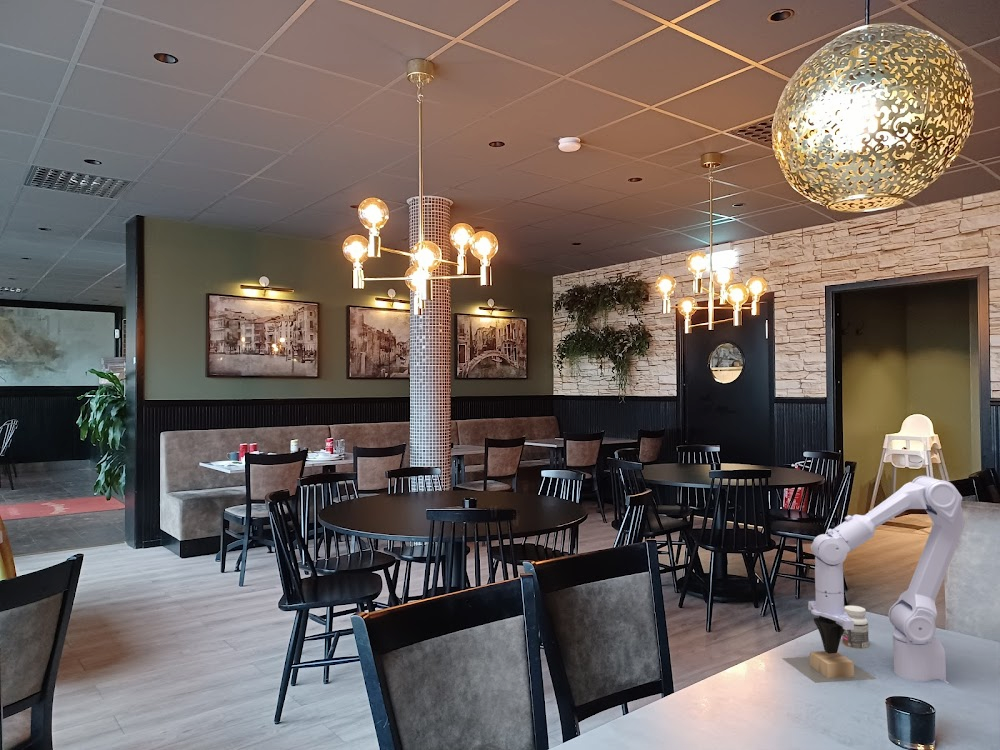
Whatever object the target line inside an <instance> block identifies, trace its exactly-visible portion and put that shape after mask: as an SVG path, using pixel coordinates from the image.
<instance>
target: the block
mask: <svg viewBox="0 0 1000 750" xmlns="http://www.w3.org/2000/svg"><path fill="white" fill-rule="evenodd" d="M809 657H810V666H812V667H813V668H814V669H816V670H817V671H819V672H820V673H822V674H823V675H825V676H826V677H827V678H833V677H849V676H854V665H855V663H854V661H852V660H851V659H849V657H846V656H844V655H843V654H841V653H840V652H838V651H837V653H832V654H828V653H827V652H825V650H824V651H823V650H822V651H810V652H809Z"/></svg>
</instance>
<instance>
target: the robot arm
mask: <svg viewBox="0 0 1000 750" xmlns="http://www.w3.org/2000/svg"><path fill="white" fill-rule="evenodd" d="M962 501H963V496H962V495H961V493H960V492H959V490H958V489H957V488H956V486H955V485H954V484H953V483H951V482H950V481H948V480H941V479H937V478H934V477H933V476H928V475H920V476H917V477H915V478H914V479H913V480H912V481H909V482H907V483H905V484H904V485H902V486H901V487H900V488H899V489H898V490H896V491H895V492H894V493H893V494H891V495H890V496H889V497H887V498H886V499H884V500H883V501H882V502H881V503H879V504H878V505H877V506H875V507H874V508H872V509H871V510H870V511H868V512H867V513H865V514H863V515H862V514H853V515H850V514H848V515H846V516H845V517H844V521H843V522H841V523H840V524H839V525H836V526H835V527H834V528H828V529H827V530H826V533H822V534H819V535H817V536H816V537H815V538H813V541H812V544H811V545H810V549H811V553H812V554H813V555H814V556H815V557H814V565H815V567H814V582H815V584H814V585H815V600H808V605H807V606H808V611H810V613H811V614H812V615H813V616H818V617H814V618H813V623H814V624H815V626H816V628H817V630H818V633H819V635H820V638H821V641H822V646H823V649H824V651H825V652H827V653H828V654H832V653H837V652H838V651H839V647H840V644H841V643H840V642H841V640H842V635H843V633H844V631H845V630H854V620H852V619H851V618H850V617H849V616H848V615H847V613H846V612H845V611H844V607H845V594H844V593H845V590H844V589H845V588H844V587H845V586H844V570H843V569H844V568H843V567H844V566H843V563H844V562H845V560H846V559H847V556H848V553H850V552H852V551H854V550H856V549H857V548H858V547H860V546H861V545H863V544H865V543H866V542H867V541H869V540H870V539H872V538H873V537H874V536H875V531H876V529H877V528H878V527H880V526H881V525H883V524H885V523H886V522H889V520H891V519H893V518H894V517H897V516H899V515H900V514H902V513H904V512H905V511H907V510H925V512H926V513H927V515H928V516H929V518H930V519H931V521H932V526H931V530H930V532H929V534H928V537H927V540H926V542H925V544H924V547H923V549H922V553H921V555H920V558H919V561H918V562H917V565H916V568H915V570H914V573H913V575H912V578H911V581H910V583H909V585H908V589H906V590H904V591H903V592H902V593H901V594H899V597H898V599H897V601H896V602H895V603H894V604H893V605H891V606H890V608H889V610H888V615H887V616H888V620H889V622H890V624H892V626H893V627H894V630H893V633H892V646H893V647H892V648H893V649H892V651H893V652H892V653H893V673H894V675H895V676H897V677H900V678H902V679H905V680H907V681H915V682H929V681H933V680H934V681H935V680H941V681H942V682H945V683H946V684H948V685H949V684H950V683H949V682H948V681H947V670H946V669H947V667H946V665H947V664H946V658H947V657H946V651H945V648H944V646H943V644H942V643H941V641H940V640H939V639H937V637H935V635H936V630H937V629H936V628H937V627H936V619H937V616H938V612H937V611H938V610H937V606H936V599H937V597H938V595H939V591H940V588H941V586H942V584H943V582H944V579H945V576H946V574H947V571H948V568H949V565H950V564H951V561H952V559H953V556H954V553H955V551H956V549H957V545H958V543H959V541H960V538H961V535H962V533H963V531H964V528H965V520H964V519H965V518H964V513H963V508H962Z"/></svg>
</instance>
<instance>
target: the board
mask: <svg viewBox="0 0 1000 750" xmlns="http://www.w3.org/2000/svg"><path fill="white" fill-rule="evenodd" d="M781 659H782V660H784V661H785V662H786V663H787V664H789V665H790V666H792V667H793V668H795V669H796V670H797V671H798V672H800V673H801V674H803V676H805V677H807V678H808V679H810V680H811V681H812V682H813V683H815V684H818V683H819V684H820V683H832V682H833V683H834V682H835V683H836V682H849V681H852V682H853V681H867V680H877V679H878V678H877V677H876V676H874V675H872V674H870V673H869V672H867V671H865V670H864V669H862V668H860V666H857V665H856V664H854V676H849V677H833V678H827V677H826V676H825V675H823V674H822V673H820V672H819V671H817V670H816V669H814V668H813V667H812V666H810V656H801V657H800V656H799V657H798V656H797V657H783V658H781Z"/></svg>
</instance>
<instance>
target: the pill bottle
mask: <svg viewBox="0 0 1000 750" xmlns="http://www.w3.org/2000/svg"><path fill="white" fill-rule="evenodd" d="M844 611H845V612H846V613H847V615H848V616H849V617H850V618H851V619H852V620H854V630H845V631H844V633H843V635H842V637H841V640H842V645H843V646H846V647H849V648H854V649H867V648H868V647H869V645H870V643H869V621H868V619H867V618H866V614H867V613H866V608H865V607H862V606H859V605H844Z"/></svg>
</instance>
